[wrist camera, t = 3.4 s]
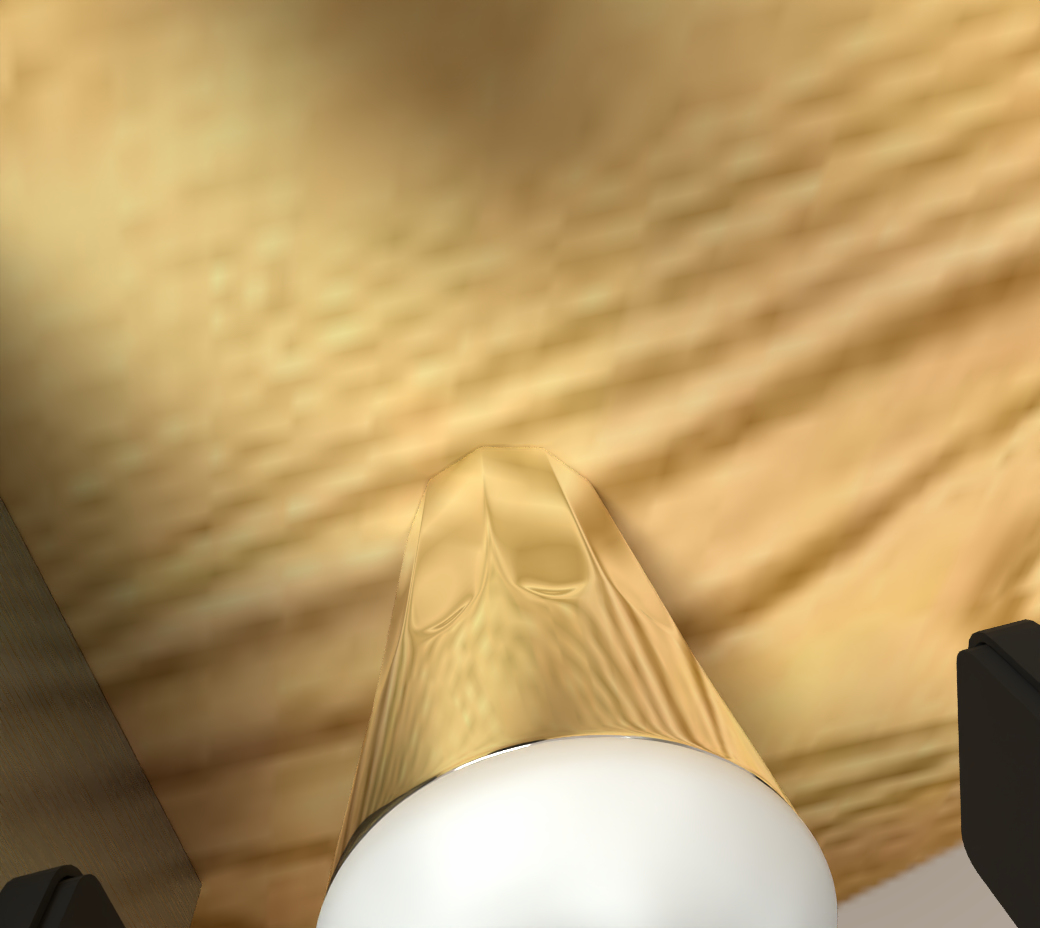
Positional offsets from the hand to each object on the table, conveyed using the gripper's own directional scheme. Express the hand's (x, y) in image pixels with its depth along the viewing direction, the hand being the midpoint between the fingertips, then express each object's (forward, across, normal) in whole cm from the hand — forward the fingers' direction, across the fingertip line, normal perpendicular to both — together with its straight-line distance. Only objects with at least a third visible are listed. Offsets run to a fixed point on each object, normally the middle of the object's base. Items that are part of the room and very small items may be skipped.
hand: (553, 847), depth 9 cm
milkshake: (+6, -1, 0) cm, 7 cm away
